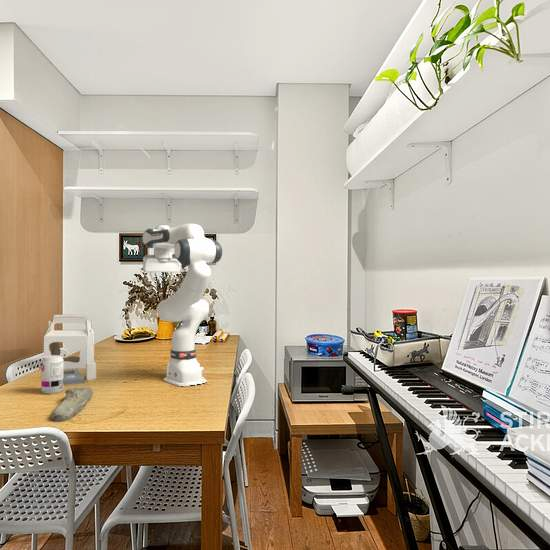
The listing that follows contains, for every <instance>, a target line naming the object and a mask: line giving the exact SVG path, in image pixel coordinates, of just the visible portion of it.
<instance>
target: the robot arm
mask: <svg viewBox="0 0 550 550" xmlns="http://www.w3.org/2000/svg"><path fill="white" fill-rule="evenodd" d="M141 239H142V244H143V245H144V246H145V247H146V248H147V249H153V254H146V255H143V257H142V261H143V264H142V271H143V272H144V273H149V276H150V278H151V280H150V281H156V277H155V276H154V273H170V276H169V277H168V278H167V279H168V282H169V281H170V282H171V281H172V280H173V277H174V275H175V273H180V272H181V266H182V267H184V268H187V271H186V275H185V276H184V278H183V281H182V282H181V285H180V287H179V289H178V290H176V292H175V293H173V294H172V295H171V296H169V297H168V298H166V299H163V300H160V302H159V303H158V305H157V307H156V314H157V316H158V318H159V319H160V320H161V321H164V322H170V323H172V322H173V323H175V322H182V325H181V326H179V327H178V328H177V329H176V330H174V331H173V332H172V335H171V349H170V353H169V354H170V359H169V361H168V362H167V364H166V365H167V367H166V377H164V378H163V382H167V383H169V384H172V385H174V386H177V387H181V386H183V387H191V386H190V385H195V386H198V385H197V384H201V385H203V384H202V383H205V382H207V383H208V381H207V380H208V379H206V378H205V377H204V376H203V372H204V367H203V366H201V364H200V362H199V361H198V359H197V352H196V348H195V346H196V345H195V343H196V335H197V330H198V328H199V326H200V324H201V323H202V322H203V321H204V320H205V319H206V318H207V317H208V315H209V313H210V305H209V303H208V302H207V301H206V300H205V299H203V297H204V295H205V292H206V291H207V288H208V286H209V283H210V280H211V274H212V271H211V268H210V266H209V265H208V264H216V263H218V262H220V260H221V258H222V257H223V248H222V245H221V244H220V243H219V242H218V241H217V240H215V239H213V237H206V236H205V232H204V229H203V227H202V226H201V225H199V224H196V223H184V224H180V225H178V226H174V227H170V225H166V224H158V225H157V226H155V229H153V228H148V229H146V230H145V231H144V232H143V233H142V238H141ZM171 249H172V250H173V249H174V251H173V252H172V251H171ZM205 384H206V383H205Z"/></svg>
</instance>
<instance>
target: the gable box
mask: <svg viewBox="0 0 550 550" xmlns="http://www.w3.org/2000/svg"><path fill="white" fill-rule="evenodd" d="M56 324H84V325H85V329H65V330H64V329H59V330H58V329H55V325H56ZM59 343H64V344H75V343H79V344H81V346H82V347H81V349H80V352H79V356H76V355H75V356H74V355H71V356H68V357H62V358H63V359H64V368H63V370H71V369H77V370H79V369H80V370H83V369H85V370H86V362H95V331H94V328H93V325H92V320H90V319H88V317H87V315H86V314H54V315H53V318H52V320H48V327H47V329H46V331H45V333H44V335H43V358H44V357H45V356H50V355H61V347H60V345H59Z"/></svg>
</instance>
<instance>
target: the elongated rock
mask: <svg viewBox="0 0 550 550" xmlns="http://www.w3.org/2000/svg"><path fill="white" fill-rule="evenodd" d="M93 391H94V390H93V388H91V387H88V386H86V387H85V386H82V387H77V386H74V387H72V388H71V387H69V388H67V389H66V390H65V392H64V393H65V396H64V398H63V400H62V401H61V402H60V403H59V404H58V405H57V406H56V407H55V408H54V409H53V411H52V415H51V419H52V420H54V421H55V422H67V421H70V420H71V419H72V418H74V416H76V415H77V414H78V413H80V412H81V411H82V410H83V408H84V407H86V405H87V403H88V402H89V401H90V400H91V399H92V396H93V395H94V393H93Z"/></svg>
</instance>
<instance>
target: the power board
mask: <svg viewBox="0 0 550 550" xmlns="http://www.w3.org/2000/svg"><path fill="white" fill-rule="evenodd" d="M75 384H85V377H84V376H83V375H82V373H81V372H80V371H79V369H63V386H68V385H75Z"/></svg>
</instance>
